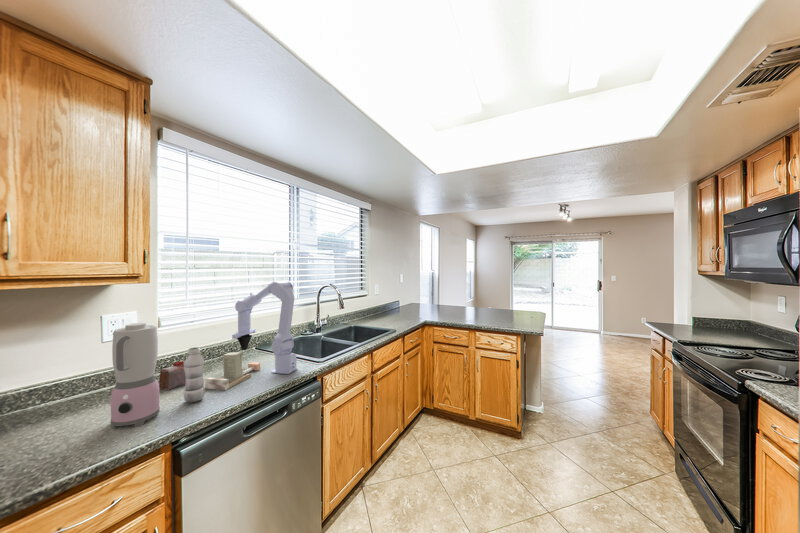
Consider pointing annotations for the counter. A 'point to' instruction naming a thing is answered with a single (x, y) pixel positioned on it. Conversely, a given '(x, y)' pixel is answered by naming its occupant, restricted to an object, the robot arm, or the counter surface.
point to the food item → (172, 376)
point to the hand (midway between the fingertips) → (244, 349)
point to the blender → (134, 375)
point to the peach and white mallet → (251, 367)
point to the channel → (223, 382)
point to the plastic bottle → (194, 376)
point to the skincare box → (232, 366)
